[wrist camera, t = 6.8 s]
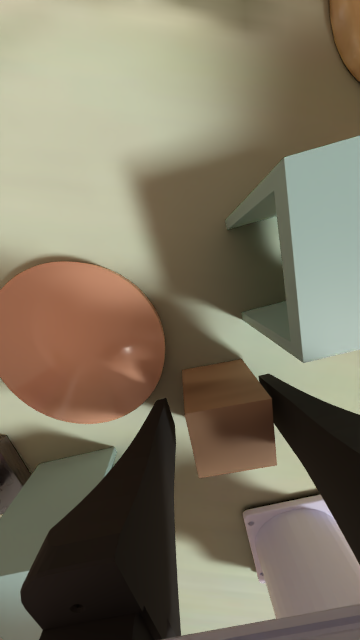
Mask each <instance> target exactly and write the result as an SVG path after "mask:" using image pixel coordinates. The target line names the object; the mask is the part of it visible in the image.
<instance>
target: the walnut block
mask: <svg viewBox="0 0 360 640" xmlns="http://www.w3.org/2000/svg"><path fill="white" fill-rule="evenodd" d="M182 379H183V396H184V412H185V418H186V422H187V427H188V431H189V436H190V440H191V445H192V449H193V454H194V458H195V463H196V467H197V472H198V476H199V478H204V477H210V476H216V475H222V474H228V473H234V472H240V471H246V470H252V469H257V468H263V467H269V466H275V465H277V460H276V447H275V435H274V422H273V409H272V398H271V397H270V396H269V394H268V393H267V392H266V390H265V389H264V388H263V386H262V385H261V384H260V382H259V381H258V380H257V378H256V377H255V376H254V375H253V373H252V372H251V371H250V369H249V368H248V367H247V365H246V364H245V363H244V361H243V360H242V359H239V360H233V361H228V362H223V363H217V364H212V365H206V366H201V367H195V368H190V369H185V370H182Z"/></svg>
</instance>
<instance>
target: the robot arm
mask: <svg viewBox="0 0 360 640" xmlns="http://www.w3.org/2000/svg"><path fill="white" fill-rule="evenodd" d="M259 381H260V384H261V385H262V386H263V388H264V389H265V390H266V392H267V393H268V394H269V396H270V397H271V398H272V409H273V422H274V424H275V425H276V427H277V428H278V430H279V431H280V433H281V434H282V435H283V437H284V438H285V440H286V441H287V443H288V444H289V445H290V447H291V448H292V450H293V451H294V453H295V454H296V455H297V457H298V458H299V460H300V461H301V463H302V464H303V466H304V467H305V469H306V471H307V472H308V474H309V476H310V477H311V479H312V481H313V482H314V484H315V486H316V488H317V489H318V491H319V493H320V494H321V495H316V496H311V497H306V498H301V499H296V500H291V501H287V502H282V503H277V504H272V505H267V506H262V507H258V508H253V509H248V510H245V511H244V512H243V519H244V523H245V527H246V531H247V535H248V539H249V543H250V547H251V551H252V555H253V559H254V563H255V567H256V571H257V575H258V579H259V582H261V583H266V585H267V588H268V592H269V595H270V599H271V602H272V606H273V609H274V613H275V616H276V619H272V620H267V621H261V622H256V623H250V624H245V625H239V626H233V627H228V628H222V629H217V630H211V631H206V632H200V633H194V634H189V635H183V636H181V629H180V614H179V599H178V583H177V565H176V545H175V522H174V473H175V452H176V435H175V424H174V421H173V418H172V414H171V411H170V408H169V405H168V402H167V399H166V398H164V399H160V400H157V401H156V402H155V404H154V406H153V408H152V409H151V411H150V413H149V415H148V417H147V419H146V420H145V422H144V424H143V425H142V427H141V429H140V430H139V432H138V434H137V435H136V437H135V438H134V440H133V441H132V443H131V444H130V446H129V447H128V449H127V450H126V451H125V453H124V454H123V455H122V457H121V458H120V459H119V460H118V462H117V463H116V464H115V465H114V466H113V468H112V469H111V470H110V471H109V472H108V473H107V475H106V476H105V477H104V478H103V479H102V480H101V481H100V482H99V483H98V485H97V486H96V487H95V488H94V489H93V490H92V491H91V492H90V493H89V494H88V495H87V496H86V497H85V498H84V499H83V500H82V501H81V502H80V503H79V504H78V505H77V506H76V507H75V508H73V509H72V510H71V511H70V512H69V513H68V514H67V515H66V516H65V517H64V518H62V519H61V520H60V521H59V522H58V523H57V524H56V525H55V526H54V527H52V528H51V529H50V530H49V532H48V534H47V536H46V538H45V540H44V542H43V544H42V546H41V548H40V550H39V552H38V554H37V556H36V558H35V560H34V562H33V564H32V566H31V568H30V570H29V572H28V574H27V576H26V579H25V581H24V583H23V585H22V588H21V590H20V595H21V603H22V604H23V606H24V608H25V609H26V611H27V612H28V613H29V614H30V615H31V617H32V618H33V619H34V620H35V621H36V623H37V624H38V625H39V626H40V627H41V628H42V630H43V631H42V633H41V636H40V639H39V640H360V415H358V414H355V413H353V412H350V411H347V410H344V409H342V408H339V407H336V406H334V405H331V404H329V403H326V402H324V401H322V400H320V399H317V398H315V397H313V396H311V395H309V394H306V393H304V392H302V391H300V390H298V389H296V388H294V387H293V386H291V385H289V384H287V383H285V382H283V381H281V380H280V379H278V378H276V377H274V376H272V375H270V374H265V375H261V376H259Z"/></svg>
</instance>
